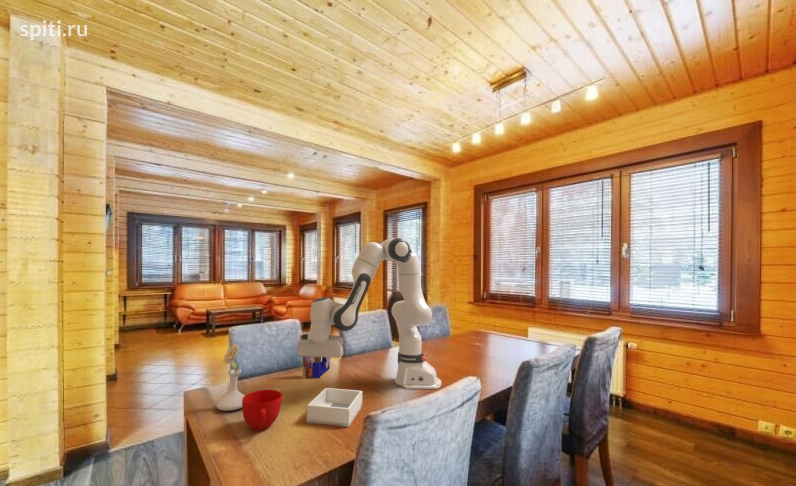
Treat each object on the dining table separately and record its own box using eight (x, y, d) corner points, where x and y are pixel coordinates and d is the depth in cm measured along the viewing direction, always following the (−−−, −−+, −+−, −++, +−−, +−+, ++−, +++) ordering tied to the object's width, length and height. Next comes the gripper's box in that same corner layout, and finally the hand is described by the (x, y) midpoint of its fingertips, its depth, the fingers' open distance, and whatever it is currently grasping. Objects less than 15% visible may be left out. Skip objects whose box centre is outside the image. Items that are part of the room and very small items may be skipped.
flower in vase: (217, 403, 133) (221, 340, 135) (248, 399, 138) (252, 338, 140) (213, 417, 121) (218, 347, 123) (248, 413, 126) (251, 345, 128)
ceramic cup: (239, 444, 104) (241, 411, 105) (241, 420, 120) (242, 392, 120) (283, 436, 109) (284, 405, 110) (279, 415, 125) (280, 387, 126)
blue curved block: (320, 368, 153) (320, 354, 153) (329, 368, 152) (329, 355, 152) (308, 377, 141) (309, 362, 141) (318, 377, 140) (319, 363, 140)
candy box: (320, 375, 170) (322, 344, 172) (320, 378, 166) (321, 346, 167) (302, 375, 169) (304, 345, 170) (301, 378, 165) (303, 347, 166)
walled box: (361, 406, 134) (362, 390, 135) (348, 426, 117) (349, 409, 118) (325, 402, 137) (325, 387, 137) (306, 422, 120) (307, 405, 120)
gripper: (345, 334, 148) (345, 365, 148) (302, 332, 152) (301, 363, 151) (340, 337, 142) (340, 370, 141) (295, 335, 145) (295, 367, 145)
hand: (320, 366), depth 146 cm, fingers closed on blue curved block, 4 cm apart
